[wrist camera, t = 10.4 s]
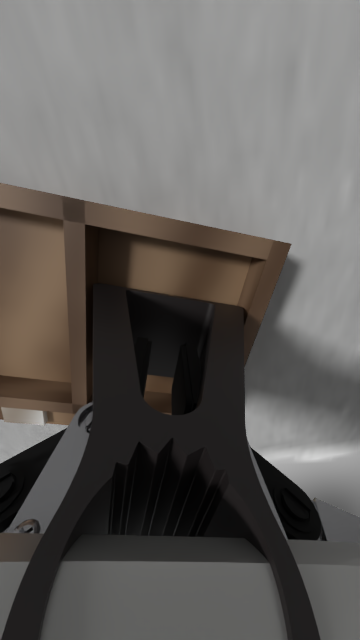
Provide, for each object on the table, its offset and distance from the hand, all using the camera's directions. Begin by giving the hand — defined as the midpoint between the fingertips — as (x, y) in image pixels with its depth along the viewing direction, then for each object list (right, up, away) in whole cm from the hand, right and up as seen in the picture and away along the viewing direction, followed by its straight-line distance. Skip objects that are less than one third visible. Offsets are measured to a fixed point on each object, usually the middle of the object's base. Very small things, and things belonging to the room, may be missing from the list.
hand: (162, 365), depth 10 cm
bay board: (-6, +1, +5) cm, 8 cm away
